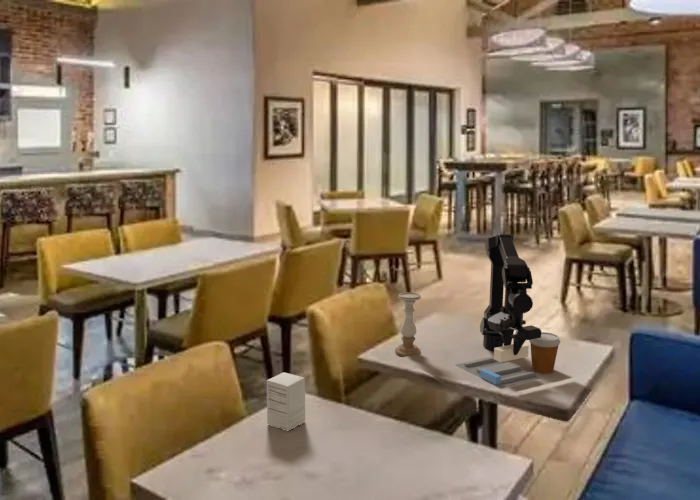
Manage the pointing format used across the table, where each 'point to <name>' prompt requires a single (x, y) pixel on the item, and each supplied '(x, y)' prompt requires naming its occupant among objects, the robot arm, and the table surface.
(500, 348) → the cream rectangular block
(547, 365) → the disposable coffee cup
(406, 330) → the candle holder
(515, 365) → the duct tray
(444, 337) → the table surface
